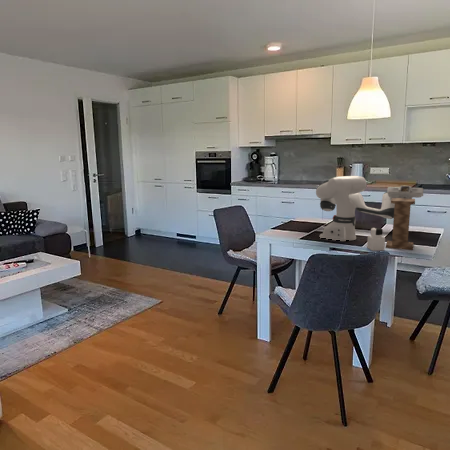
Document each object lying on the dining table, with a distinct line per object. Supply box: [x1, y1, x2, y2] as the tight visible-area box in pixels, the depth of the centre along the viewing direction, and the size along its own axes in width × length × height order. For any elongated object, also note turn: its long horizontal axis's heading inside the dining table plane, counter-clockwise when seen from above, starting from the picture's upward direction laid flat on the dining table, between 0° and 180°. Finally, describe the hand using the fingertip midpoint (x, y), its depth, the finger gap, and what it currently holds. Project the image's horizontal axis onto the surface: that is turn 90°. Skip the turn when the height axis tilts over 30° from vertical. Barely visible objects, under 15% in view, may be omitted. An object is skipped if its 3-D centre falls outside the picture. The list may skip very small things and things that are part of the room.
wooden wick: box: [400, 184, 410, 192], centre depth 229 cm, size 4×16×3 cm, turn 155°
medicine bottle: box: [366, 227, 386, 252], centre depth 215 cm, size 7×7×12 cm
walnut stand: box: [385, 198, 416, 251], centre depth 218 cm, size 14×12×27 cm
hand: (405, 186), depth 233 cm, fingers closed on wooden wick, 2 cm apart
